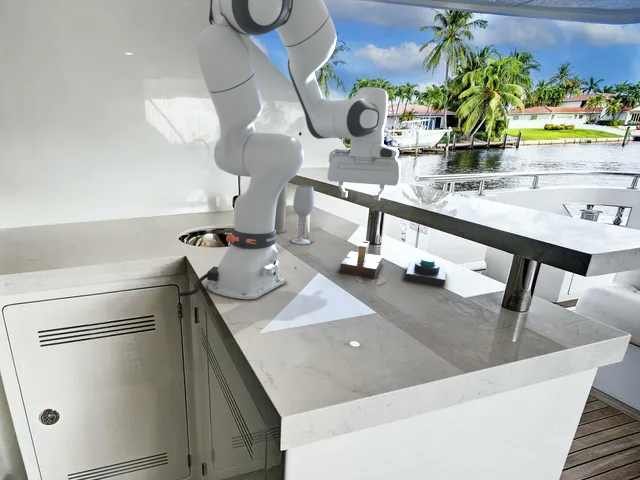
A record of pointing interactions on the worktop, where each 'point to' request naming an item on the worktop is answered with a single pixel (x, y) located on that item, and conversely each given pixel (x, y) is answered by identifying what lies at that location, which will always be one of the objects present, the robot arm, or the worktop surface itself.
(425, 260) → the bell button
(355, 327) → the worktop surface
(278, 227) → the thermos bottle
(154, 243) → the worktop surface
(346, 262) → the plate
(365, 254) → the lock knob
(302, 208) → the wineglass
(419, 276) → the bell box
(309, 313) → the worktop surface
